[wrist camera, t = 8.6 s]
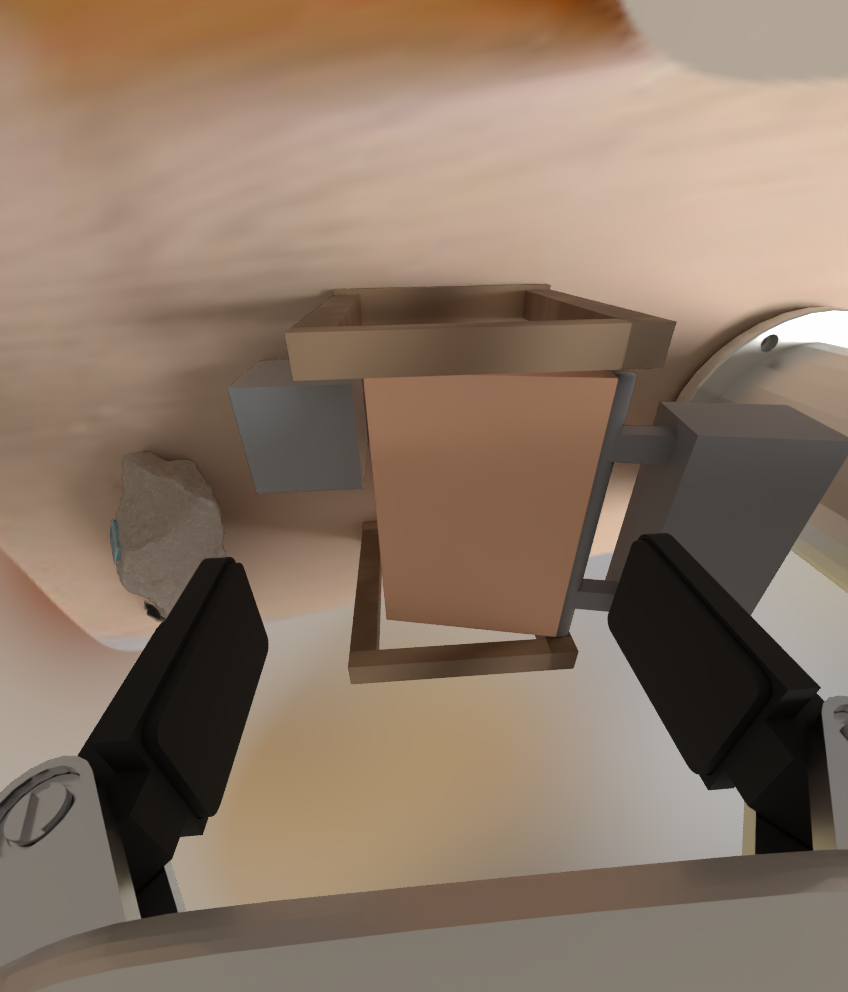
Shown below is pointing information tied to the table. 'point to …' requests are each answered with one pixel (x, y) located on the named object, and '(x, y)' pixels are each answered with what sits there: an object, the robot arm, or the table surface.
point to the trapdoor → (574, 491)
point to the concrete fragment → (163, 528)
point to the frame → (461, 351)
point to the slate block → (300, 429)
